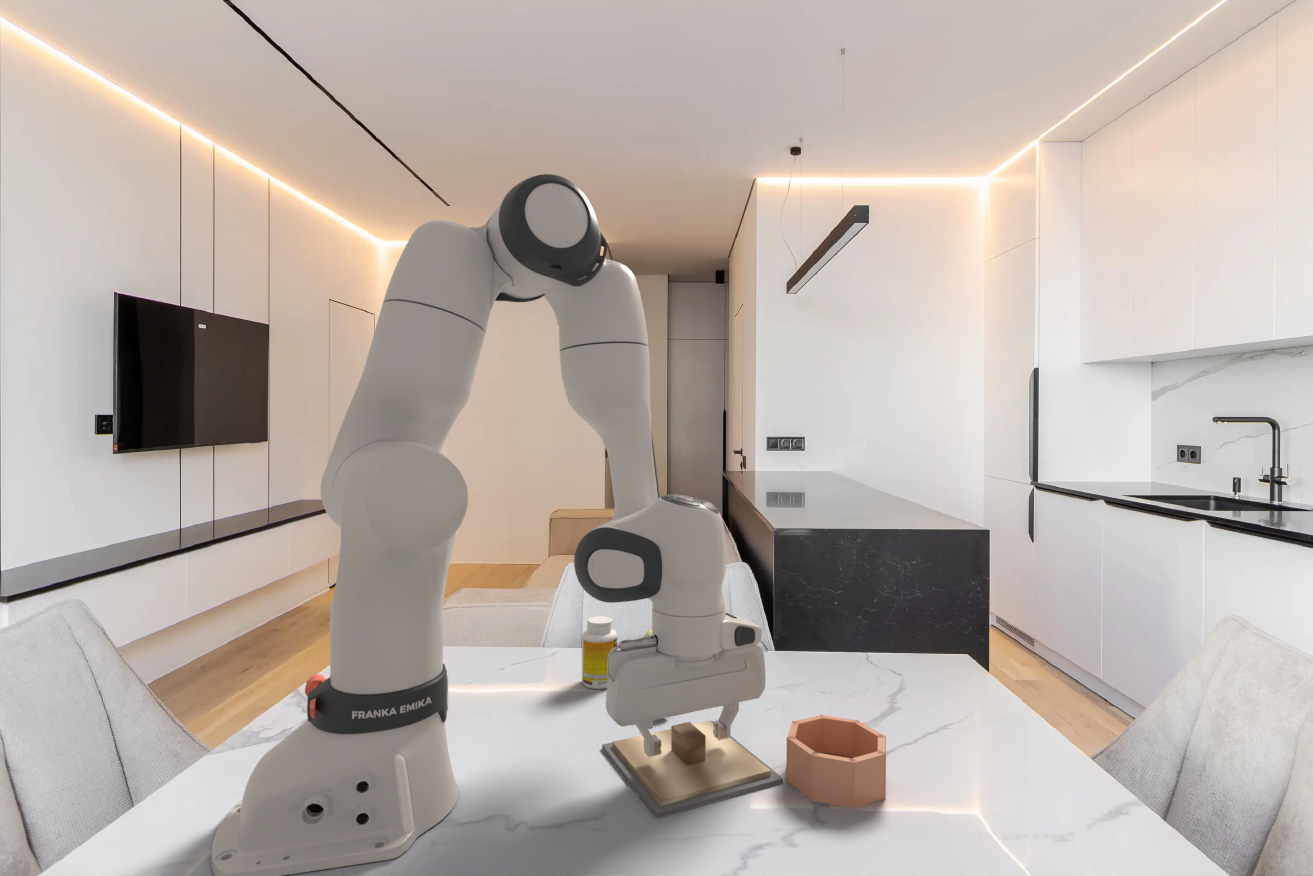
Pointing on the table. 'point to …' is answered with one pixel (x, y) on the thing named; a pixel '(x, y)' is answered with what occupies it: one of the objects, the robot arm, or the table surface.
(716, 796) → the mat
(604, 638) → the supplement bottle
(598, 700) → the table surface
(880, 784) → the bowl
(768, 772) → the sheet
